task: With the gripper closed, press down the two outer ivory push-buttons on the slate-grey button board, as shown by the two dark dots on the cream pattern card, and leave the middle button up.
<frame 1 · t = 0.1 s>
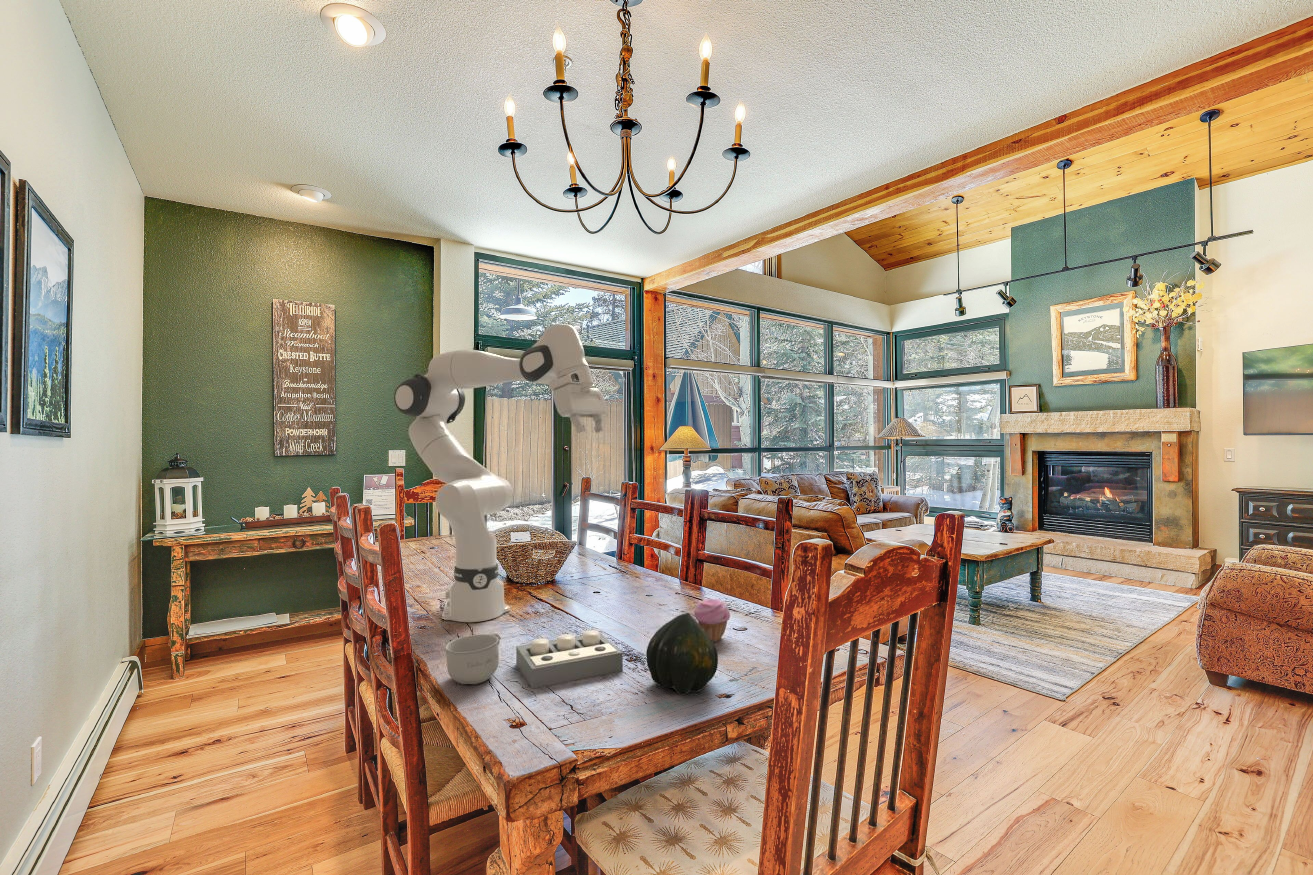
hand: (591, 432, 151), 52 cm above the table, tool tilted 20°, fingers open, 8 cm apart
cupcake: (712, 639, 148), on the table
button b: (565, 644, 132), point 4 cm above the table, slide at 0.0 cm
button c: (591, 639, 135), point 4 cm above the table, slide at 0.0 cm
button a: (539, 648, 129), point 5 cm above the table, slide at 0.0 cm
teacup: (478, 677, 126), on the table
squash: (681, 686, 121), on the table
button board: (568, 667, 130), on the table
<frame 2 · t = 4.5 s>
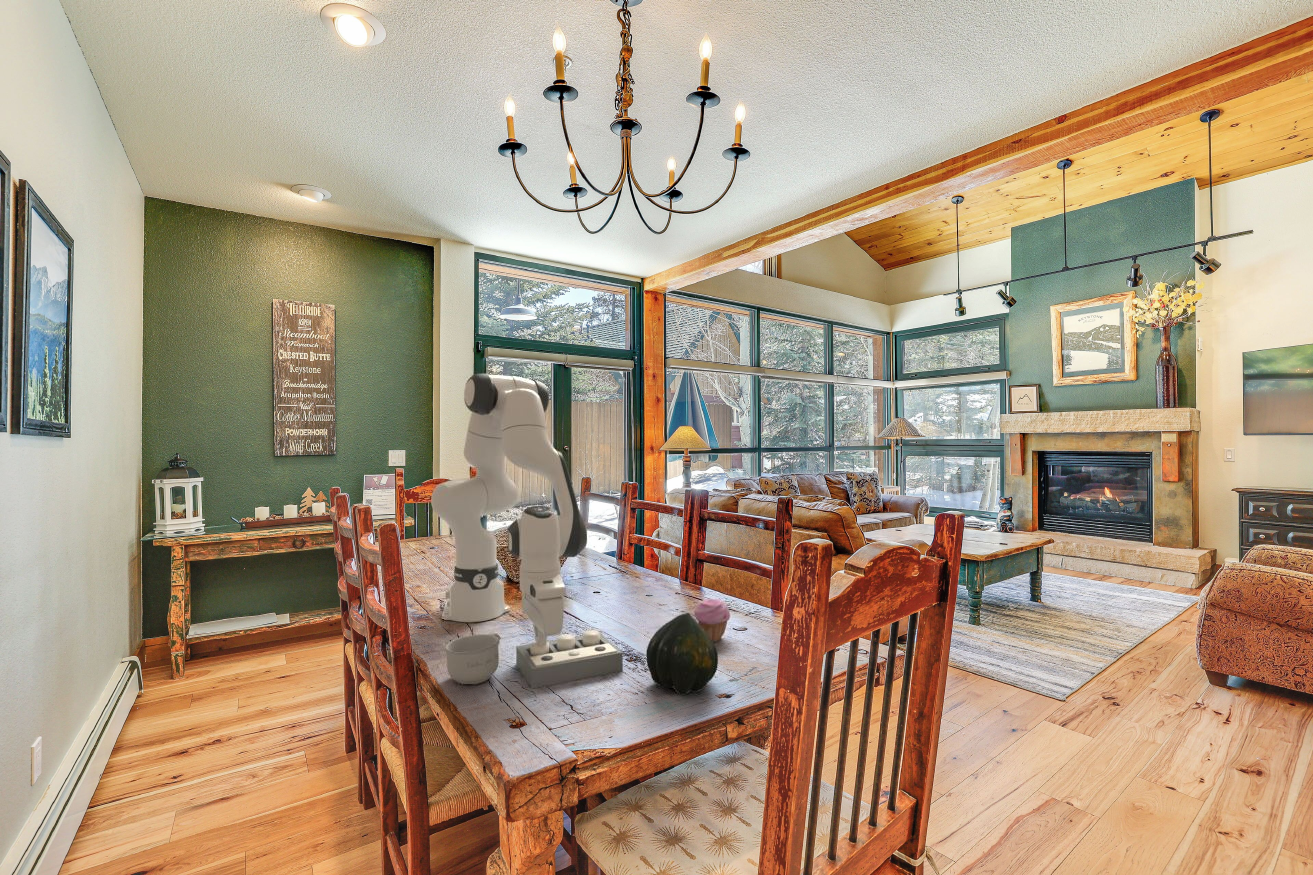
hand: (540, 643, 129), 6 cm above the table, tool pointing down, fingers closed, pressing on button a
button a: (539, 650, 129), point 4 cm above the table, slide at 0.5 cm, touching gripper
everything else where it was.
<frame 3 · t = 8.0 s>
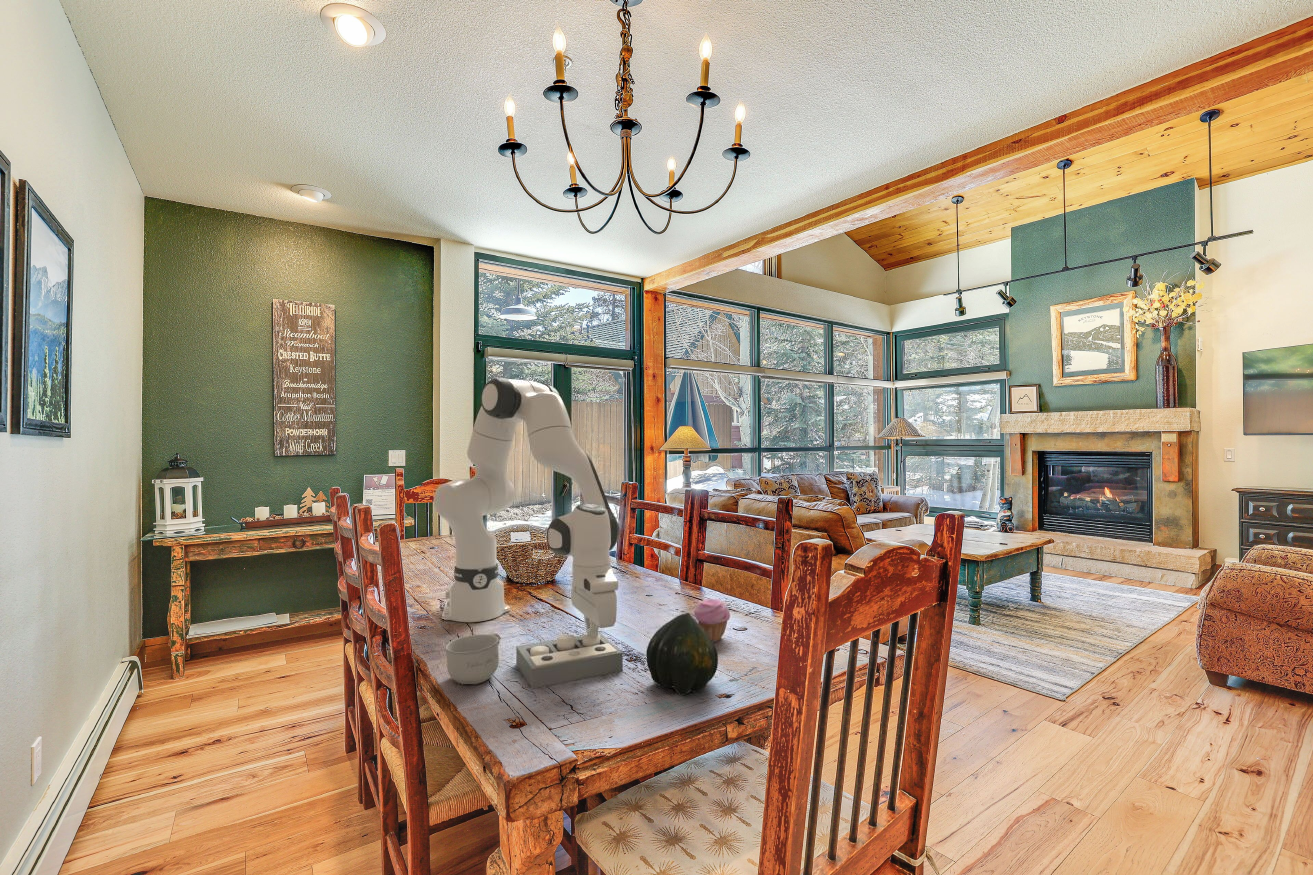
hand: (592, 635, 135), 5 cm above the table, tool pointing down, fingers closed, pressing on button c
button c: (591, 642, 135), point 4 cm above the table, slide at 0.6 cm, touching gripper
button a: (539, 655, 129), point 3 cm above the table, slide at 1.7 cm
everything else where it was.
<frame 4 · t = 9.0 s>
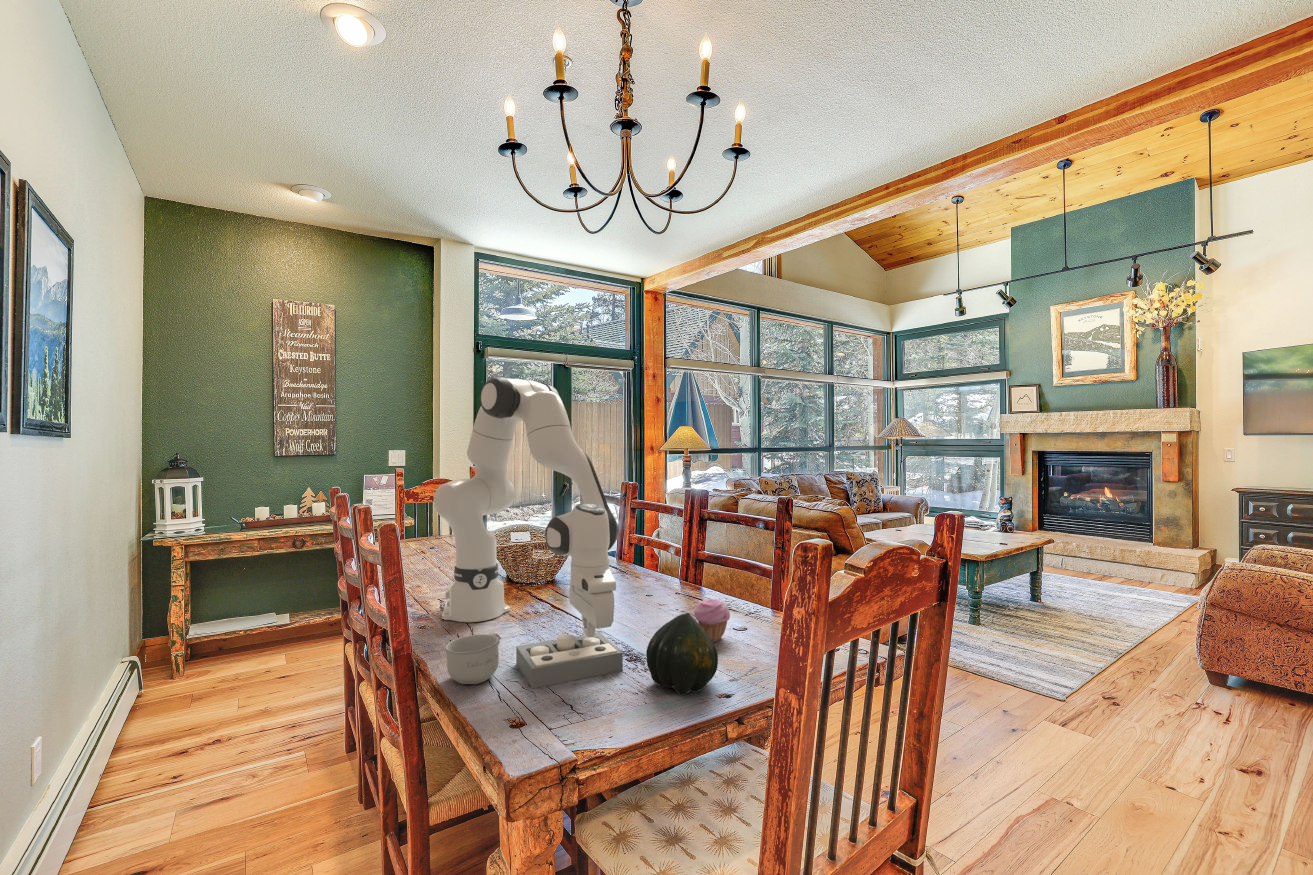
hand: (589, 635, 135), 6 cm above the table, tool pointing down, fingers closed
button c: (591, 646, 135), point 3 cm above the table, slide at 1.6 cm
everything else where it was.
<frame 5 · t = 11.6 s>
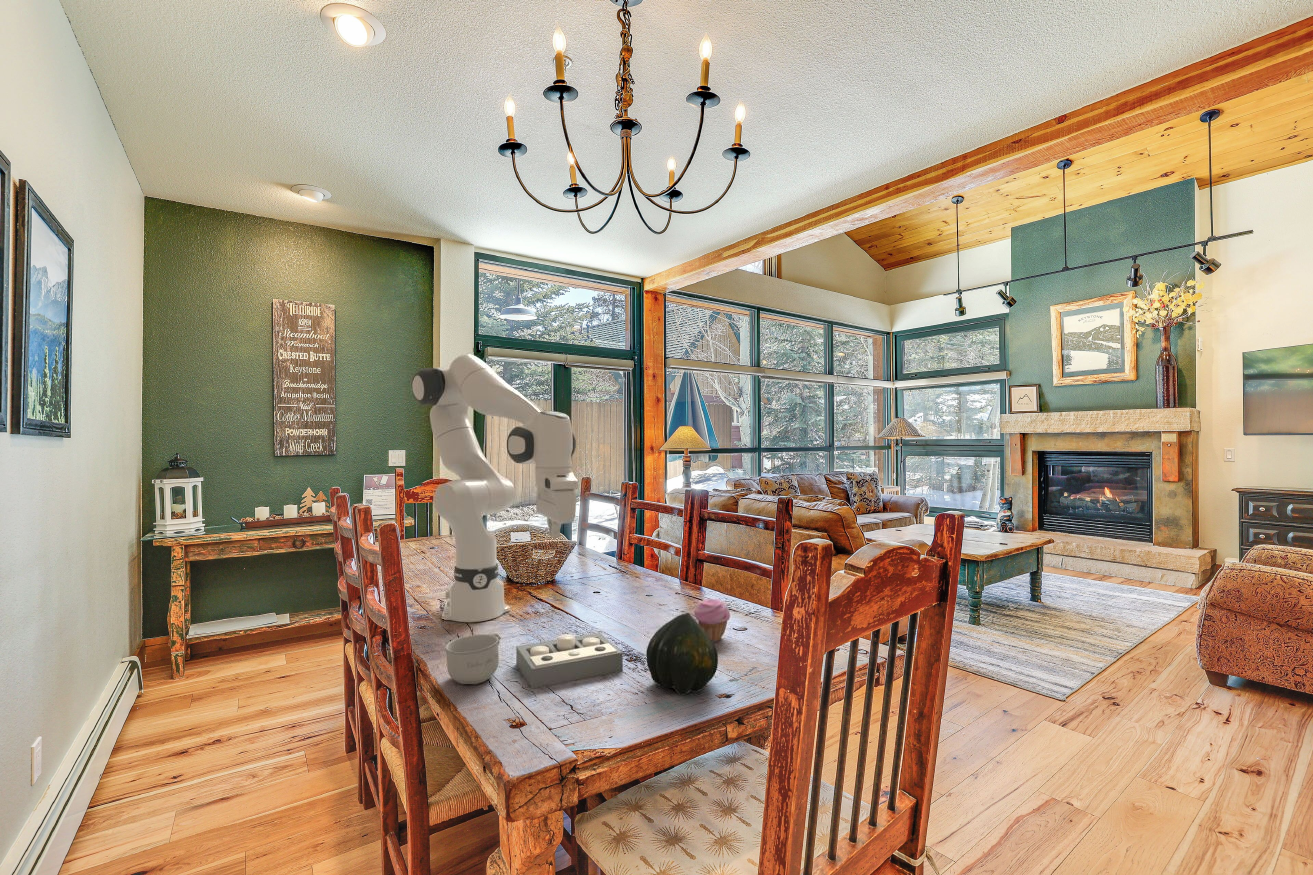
hand: (554, 537, 140), 27 cm above the table, tool pointing down, fingers closed
nothing on the table moved.
at the end: button a slide at 1.7 cm; button c slide at 1.6 cm; button b slide at 0.0 cm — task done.
